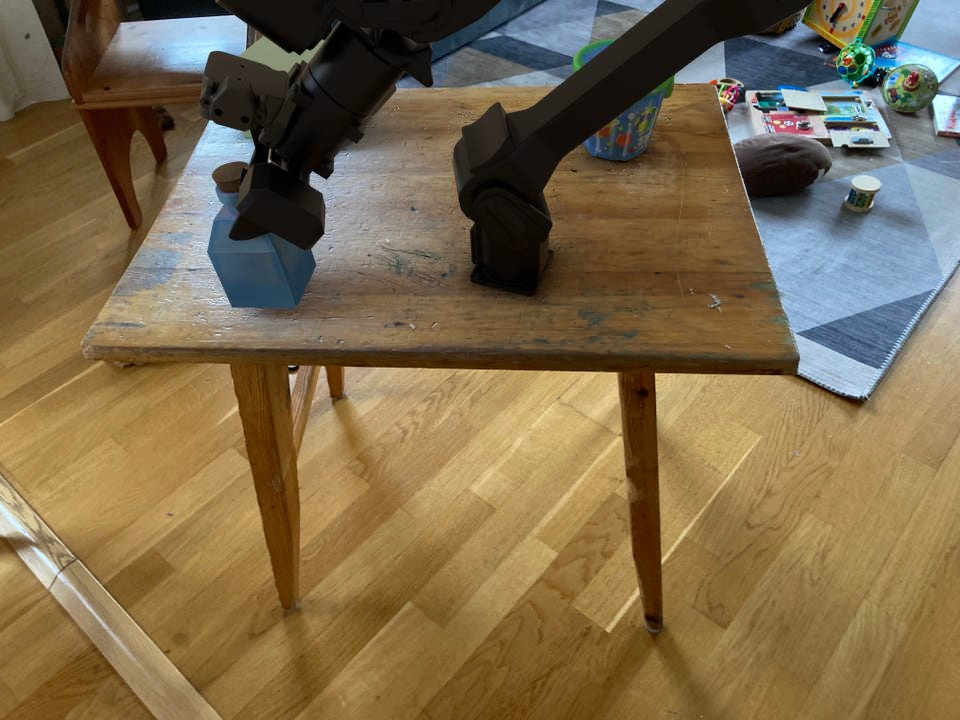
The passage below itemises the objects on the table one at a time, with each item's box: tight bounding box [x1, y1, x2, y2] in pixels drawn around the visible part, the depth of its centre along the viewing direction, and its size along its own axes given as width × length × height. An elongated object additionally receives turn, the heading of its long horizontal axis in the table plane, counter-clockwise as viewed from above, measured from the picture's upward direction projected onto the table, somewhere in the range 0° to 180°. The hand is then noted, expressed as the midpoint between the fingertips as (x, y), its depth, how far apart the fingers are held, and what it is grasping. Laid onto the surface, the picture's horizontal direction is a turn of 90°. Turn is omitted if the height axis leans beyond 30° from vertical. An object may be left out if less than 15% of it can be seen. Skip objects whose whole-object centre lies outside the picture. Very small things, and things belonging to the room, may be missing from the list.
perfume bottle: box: [206, 160, 317, 309], centre depth 64 cm, size 6×6×12 cm
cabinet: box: [238, 35, 326, 139], centre depth 88 cm, size 12×10×9 cm
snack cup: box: [572, 38, 676, 162], centre depth 81 cm, size 16×10×10 cm
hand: (236, 221), depth 64 cm, fingers closed on perfume bottle, 4 cm apart
